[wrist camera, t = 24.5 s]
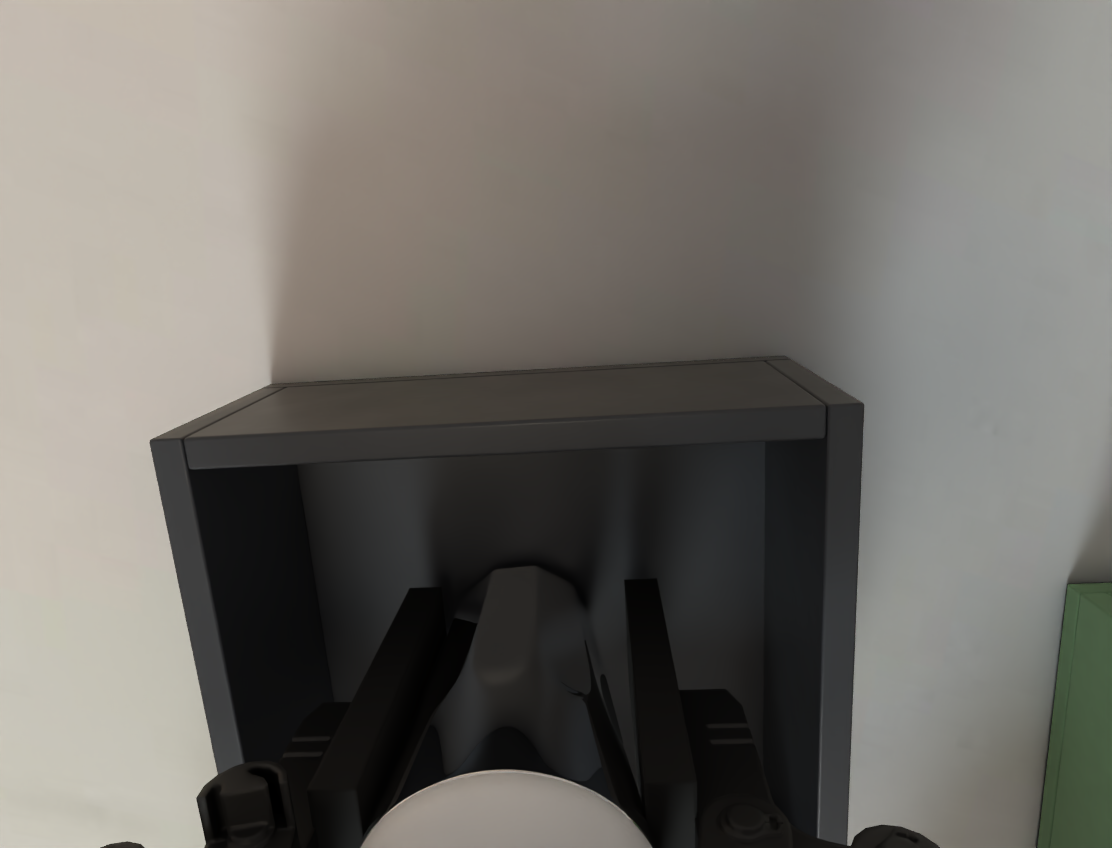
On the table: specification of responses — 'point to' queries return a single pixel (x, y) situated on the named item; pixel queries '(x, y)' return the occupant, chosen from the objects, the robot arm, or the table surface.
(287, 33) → the table surface
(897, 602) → the table surface
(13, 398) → the table surface
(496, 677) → the milkshake
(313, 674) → the dark gray square bin
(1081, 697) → the recycling bin
